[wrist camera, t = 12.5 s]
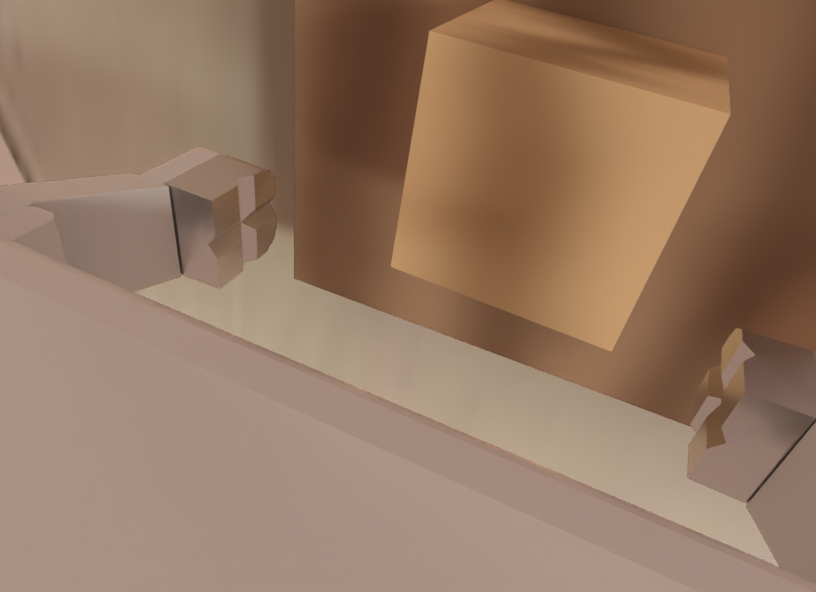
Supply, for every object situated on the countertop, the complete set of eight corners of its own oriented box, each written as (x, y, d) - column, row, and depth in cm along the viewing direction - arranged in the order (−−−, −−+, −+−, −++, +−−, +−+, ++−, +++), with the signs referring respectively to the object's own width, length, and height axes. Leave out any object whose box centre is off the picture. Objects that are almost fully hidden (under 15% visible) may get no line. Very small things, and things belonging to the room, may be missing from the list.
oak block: (727, 56, 15) (731, 114, 11) (633, 256, 18) (611, 351, 14) (498, -2, 16) (429, 30, 12) (453, 194, 20) (390, 266, 16)
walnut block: (1143, -238, 12) (1281, -280, 9) (745, 375, 23) (749, 448, 20) (371, -300, 17) (295, -343, 14) (340, 236, 28) (294, 278, 25)
